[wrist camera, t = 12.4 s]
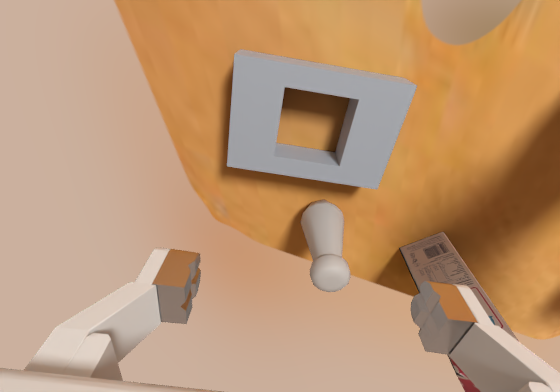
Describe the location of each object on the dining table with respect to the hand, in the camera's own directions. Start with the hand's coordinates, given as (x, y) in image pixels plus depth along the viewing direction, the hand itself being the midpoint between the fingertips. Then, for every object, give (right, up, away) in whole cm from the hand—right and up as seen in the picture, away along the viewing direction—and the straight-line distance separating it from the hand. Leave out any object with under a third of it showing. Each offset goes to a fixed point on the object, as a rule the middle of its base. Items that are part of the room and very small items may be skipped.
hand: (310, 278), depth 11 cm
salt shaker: (+5, +1, +32) cm, 32 cm away
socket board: (+3, +12, +24) cm, 27 cm away
